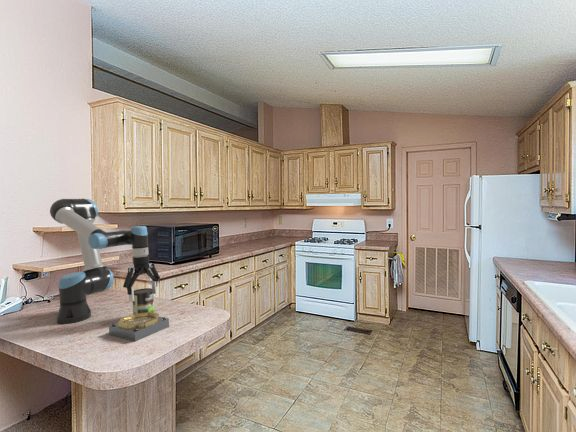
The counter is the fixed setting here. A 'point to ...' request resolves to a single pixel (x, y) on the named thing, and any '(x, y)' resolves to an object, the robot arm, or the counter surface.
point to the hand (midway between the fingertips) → (143, 297)
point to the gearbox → (138, 326)
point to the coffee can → (143, 301)
